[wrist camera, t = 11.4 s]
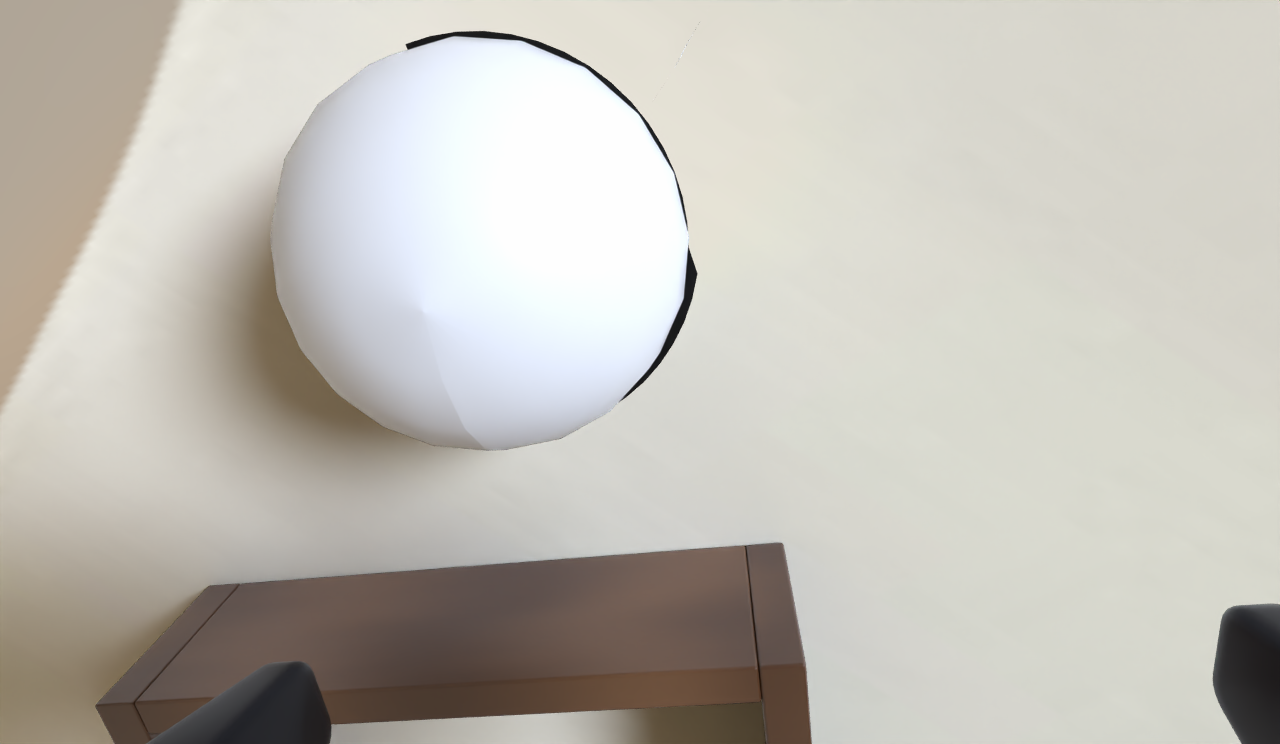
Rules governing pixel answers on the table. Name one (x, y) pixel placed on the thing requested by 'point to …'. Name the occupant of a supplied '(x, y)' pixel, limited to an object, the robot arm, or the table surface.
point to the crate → (494, 642)
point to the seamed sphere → (481, 242)
